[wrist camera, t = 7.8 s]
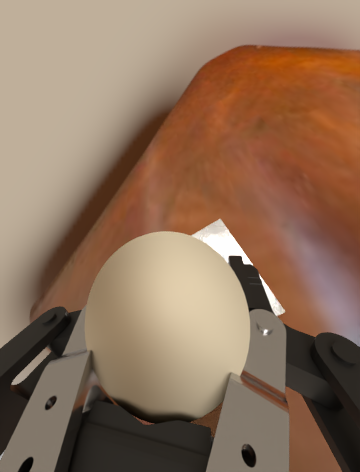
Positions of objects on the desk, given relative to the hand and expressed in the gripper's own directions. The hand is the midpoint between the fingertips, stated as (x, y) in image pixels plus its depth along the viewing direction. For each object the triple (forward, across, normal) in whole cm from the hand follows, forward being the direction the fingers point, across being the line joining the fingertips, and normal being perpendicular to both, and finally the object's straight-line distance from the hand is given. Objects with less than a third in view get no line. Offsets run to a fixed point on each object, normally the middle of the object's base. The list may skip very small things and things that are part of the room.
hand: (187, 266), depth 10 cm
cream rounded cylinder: (+2, 0, +5) cm, 5 cm away
